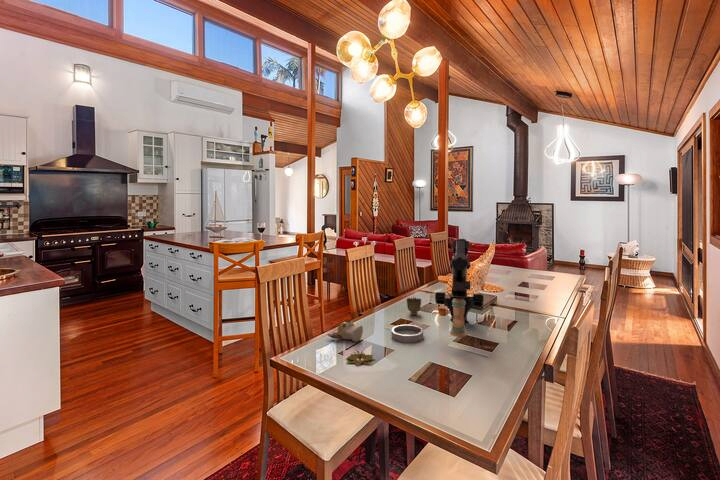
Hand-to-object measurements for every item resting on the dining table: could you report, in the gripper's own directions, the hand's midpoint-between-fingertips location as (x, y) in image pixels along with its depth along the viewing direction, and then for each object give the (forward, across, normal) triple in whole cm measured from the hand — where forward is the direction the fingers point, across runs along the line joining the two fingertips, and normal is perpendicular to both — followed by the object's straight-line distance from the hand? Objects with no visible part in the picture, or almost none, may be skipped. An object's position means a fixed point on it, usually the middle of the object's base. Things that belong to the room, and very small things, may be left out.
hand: (458, 318), depth 150 cm
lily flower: (+22, -36, -3) cm, 42 cm away
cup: (-19, -23, +38) cm, 48 cm away
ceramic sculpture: (+8, -46, +10) cm, 48 cm away
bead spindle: (+4, 0, +6) cm, 7 cm away
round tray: (+3, -22, +16) cm, 27 cm away
